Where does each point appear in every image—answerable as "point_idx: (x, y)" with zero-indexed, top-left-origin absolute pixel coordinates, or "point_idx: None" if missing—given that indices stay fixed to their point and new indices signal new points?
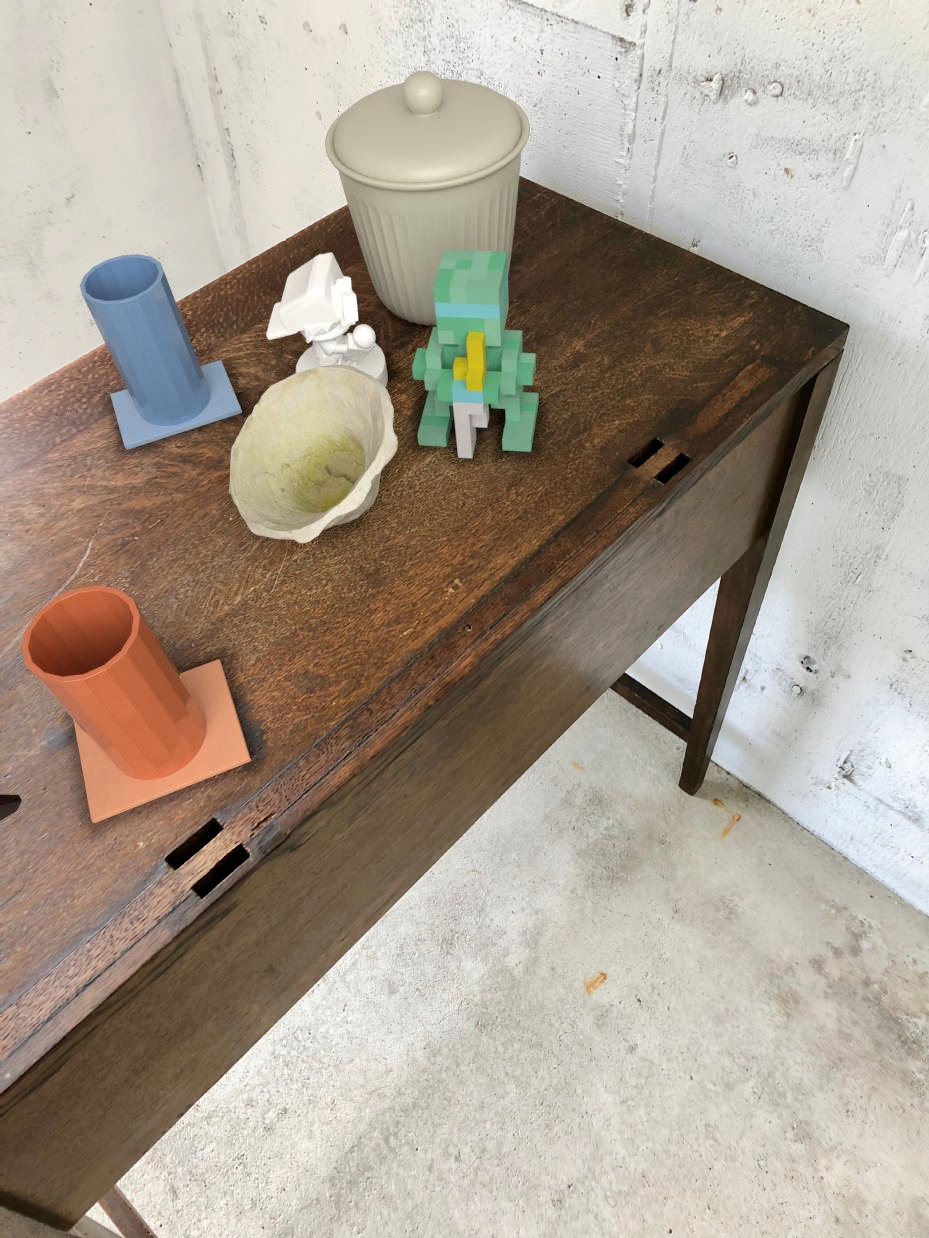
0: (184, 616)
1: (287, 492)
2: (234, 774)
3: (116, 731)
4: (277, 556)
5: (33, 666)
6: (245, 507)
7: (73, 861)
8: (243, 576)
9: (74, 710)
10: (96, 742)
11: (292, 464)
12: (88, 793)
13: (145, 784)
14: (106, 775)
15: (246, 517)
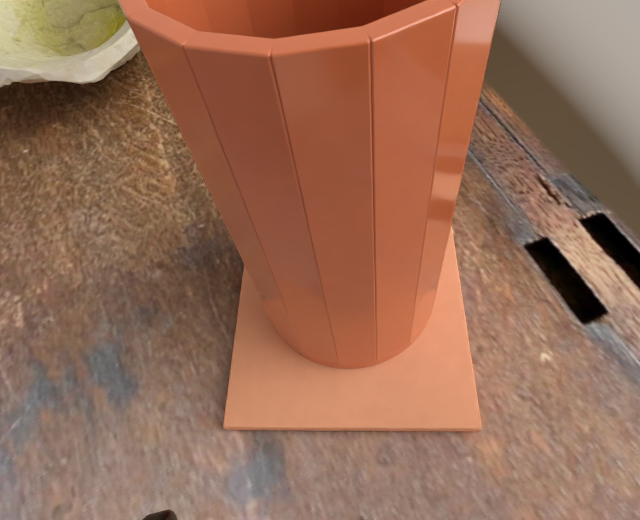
0: (142, 228)
1: (56, 56)
2: (457, 210)
3: (459, 188)
4: (131, 114)
5: (391, 19)
6: (47, 67)
7: (553, 487)
8: (132, 152)
9: (449, 163)
10: (415, 287)
11: (21, 37)
12: (418, 424)
13: (436, 322)
14: (391, 384)
15: (65, 69)
